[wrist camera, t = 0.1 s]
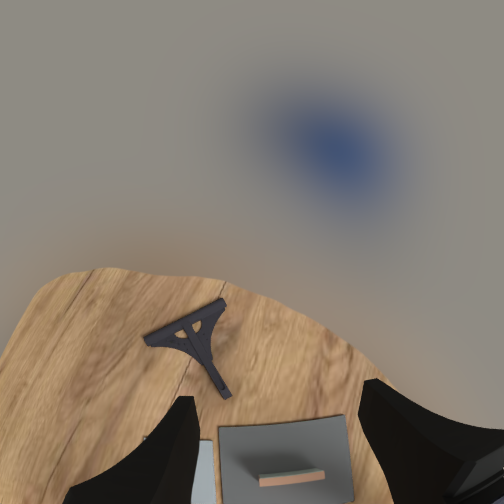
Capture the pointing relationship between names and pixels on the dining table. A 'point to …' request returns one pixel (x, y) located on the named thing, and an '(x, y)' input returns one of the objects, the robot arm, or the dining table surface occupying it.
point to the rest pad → (204, 476)
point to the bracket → (194, 339)
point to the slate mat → (286, 462)
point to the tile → (291, 477)
